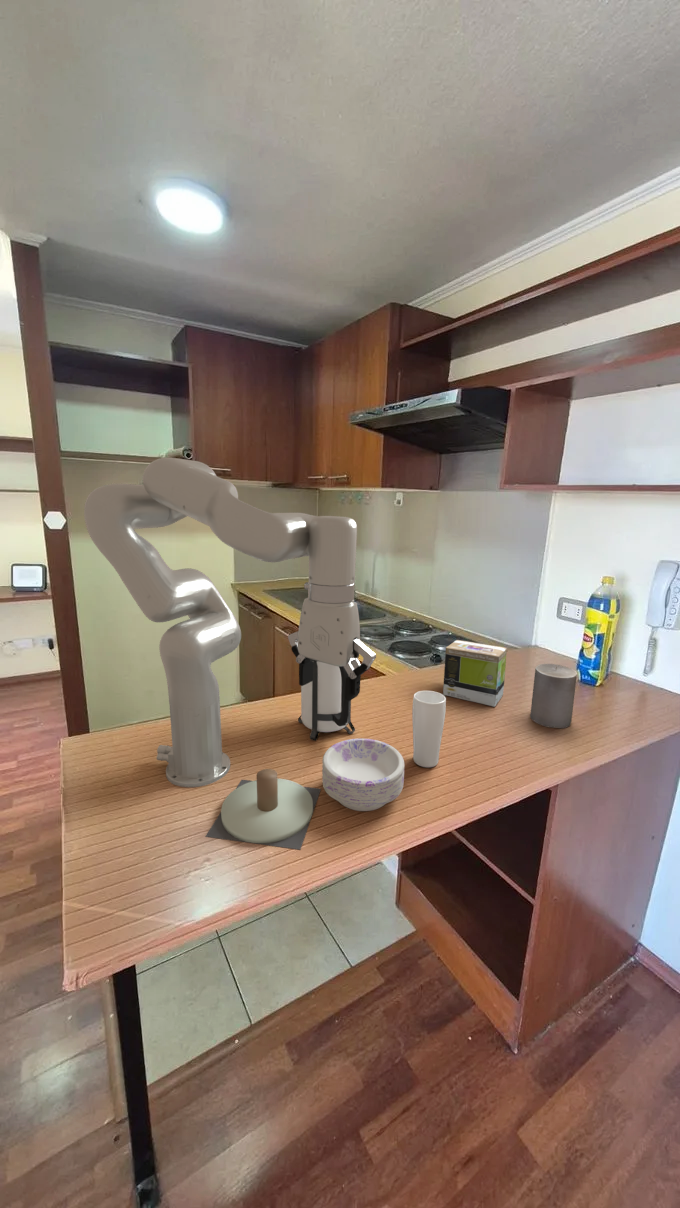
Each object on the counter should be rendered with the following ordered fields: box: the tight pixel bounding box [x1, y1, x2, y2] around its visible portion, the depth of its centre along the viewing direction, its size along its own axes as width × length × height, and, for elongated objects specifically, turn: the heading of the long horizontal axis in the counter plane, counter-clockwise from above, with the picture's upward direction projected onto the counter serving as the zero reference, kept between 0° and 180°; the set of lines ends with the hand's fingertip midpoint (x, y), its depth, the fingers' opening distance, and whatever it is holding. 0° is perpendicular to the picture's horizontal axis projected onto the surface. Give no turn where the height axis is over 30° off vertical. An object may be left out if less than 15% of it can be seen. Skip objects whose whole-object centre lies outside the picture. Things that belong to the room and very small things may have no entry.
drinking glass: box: [411, 690, 447, 768], centre depth 97 cm, size 7×7×15 cm
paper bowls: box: [321, 738, 405, 812], centre depth 86 cm, size 15×15×8 cm
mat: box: [205, 779, 322, 851], centre depth 82 cm, size 16×16×1 cm
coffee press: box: [297, 659, 356, 742], centre depth 108 cm, size 17×16×30 cm
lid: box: [220, 768, 314, 844], centre depth 81 cm, size 16×16×7 cm
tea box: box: [442, 639, 508, 708], centre depth 131 cm, size 15×10×15 cm, turn 58°
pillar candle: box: [529, 663, 578, 729], centre depth 117 cm, size 10×10×15 cm
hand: (328, 690), depth 79 cm, fingers open, 9 cm apart
